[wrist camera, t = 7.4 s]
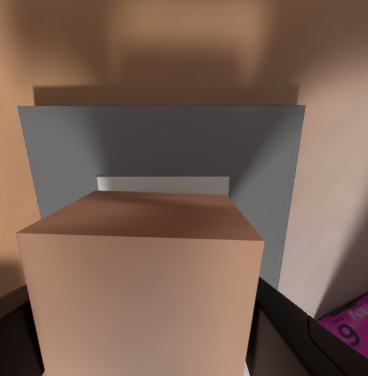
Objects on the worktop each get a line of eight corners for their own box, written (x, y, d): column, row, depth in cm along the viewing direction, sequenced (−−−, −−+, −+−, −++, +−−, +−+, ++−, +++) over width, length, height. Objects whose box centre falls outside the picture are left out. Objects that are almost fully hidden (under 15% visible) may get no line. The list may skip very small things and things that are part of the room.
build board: (73, 315, 13) (63, 330, 12) (34, 109, 10) (15, 105, 9) (265, 315, 13) (272, 330, 12) (293, 109, 10) (306, 104, 9)
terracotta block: (104, 298, 10) (51, 402, 6) (95, 190, 8) (15, 232, 4) (216, 301, 10) (237, 407, 6) (226, 194, 8) (264, 241, 4)
